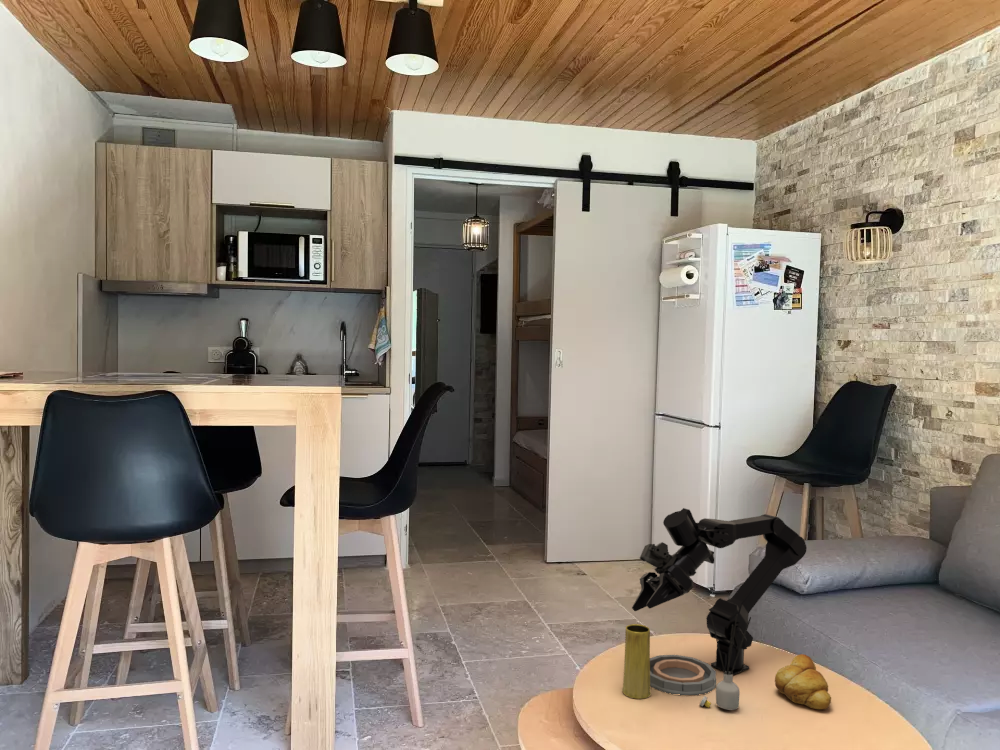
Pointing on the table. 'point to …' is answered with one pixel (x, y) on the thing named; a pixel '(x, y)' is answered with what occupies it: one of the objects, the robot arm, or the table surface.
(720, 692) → the reed diffuser
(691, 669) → the grooved tray
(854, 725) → the table surface
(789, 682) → the bread roll
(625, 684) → the vase
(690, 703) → the table surface
